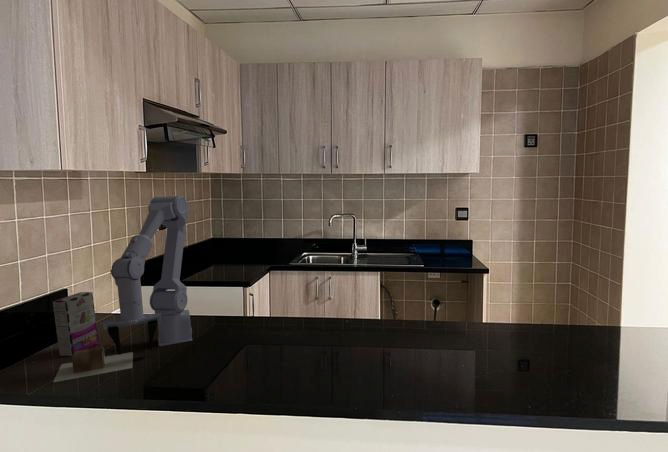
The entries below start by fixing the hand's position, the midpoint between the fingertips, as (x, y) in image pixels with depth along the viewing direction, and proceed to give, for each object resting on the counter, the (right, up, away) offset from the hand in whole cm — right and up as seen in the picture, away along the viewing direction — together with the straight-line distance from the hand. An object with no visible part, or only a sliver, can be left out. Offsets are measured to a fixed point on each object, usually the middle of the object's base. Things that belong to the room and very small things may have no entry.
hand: (135, 350), depth 131 cm
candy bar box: (-22, -3, +12) cm, 25 cm away
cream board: (-9, -3, -3) cm, 10 cm away
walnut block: (-7, -1, -3) cm, 8 cm away
